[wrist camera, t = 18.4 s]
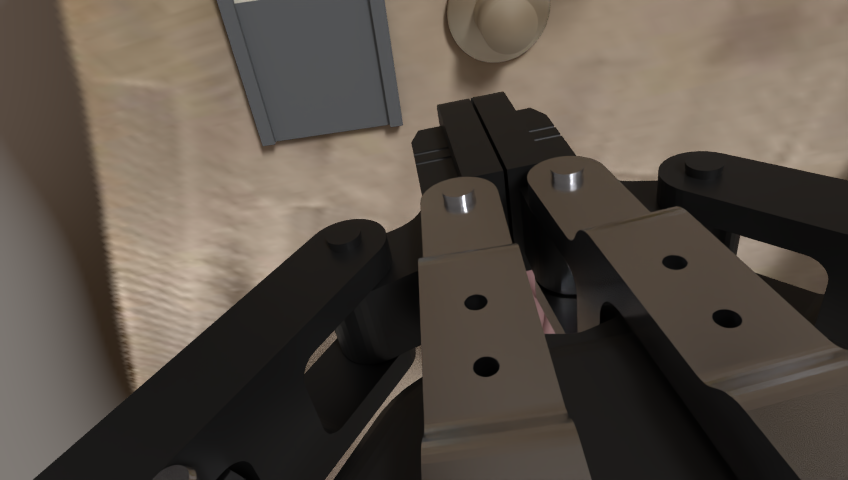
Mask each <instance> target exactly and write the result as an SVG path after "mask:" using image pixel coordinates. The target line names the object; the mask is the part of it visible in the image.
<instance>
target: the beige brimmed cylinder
mask: <svg viewBox="0 0 848 480" xmlns="http://www.w3.org/2000/svg"><path fill="white" fill-rule="evenodd" d="M549 12H550V0H448V2H447V21H448V25H449V29H450V31H451V33H452V36H453V38H454V40H455V41H456V43H457V44H458V46H459V47H460V48H461V49H462V50H463V51H464V52H465V53H466V54H468V55H469V56H471V57H473V58H475V59H477V60H480V61H484V62H491V63H497V62H504V61H508V60H511V59H514V58H516V57H518V56H520V55H521V54H523V53H524V52H526V51H527V50H528V49H529V48H531V47H532V46H533V45H534V44H535V42H536V41H537V40H538V39H539V37H540V36H541V34H542V32H543V30H544V28H545V26H546V24H547V20H548V17H549Z"/></svg>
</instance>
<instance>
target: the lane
mask: <svg viewBox="0 0 848 480" xmlns="http://www.w3.org/2000/svg"><path fill="white" fill-rule="evenodd" d="M217 3H218V6H219V9H220V12H221V16H222V19H223V22H224V25H225V28H226V31H227V35H228V38H229V41H230V44H231V47H232V50H233V54H234V57H235V60H236V63H237V66H238V69H239V73H240V76H241V79H242V82H243V85H244V88H245V92H246V95H247V98H248V101H249V104H250V107H251V111H252V114H253V117H254V120H255V123H256V126H257V129H258V133H259V136H260V139H261V142H262V145H263V146H267V145H274V144H275V143H276V141H283V140H289V139H296V138H303V137H309V136H316V135H323V134H330V133H336V132H343V131H350V130H357V129H363V128H370V127H377V126H384V125H390V127H395V126H402V125H403V122H402V115H401V109H400V102H399V95H398V89H397V82H396V75H395V68H394V62H393V55H392V48H391V41H390V35H389V28H388V21H387V15H386V8H385V1H384V0H217Z"/></svg>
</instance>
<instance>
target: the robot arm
mask: <svg viewBox="0 0 848 480" xmlns="http://www.w3.org/2000/svg"><path fill="white" fill-rule="evenodd" d="M437 111H438V118H439V124H440V126H439V127H434V128H429V129H424V130H419V131H418V132H417V134H416V136H415V137H414V139H413V141H412V142H411V143H412V148H413V153H414V158H415V163H416V168H417V173H418V178H419V183H420V188H421V193H422V198H421V202H420V205H421V211H420V212H419V214H418V215H417V216H416V217H415V218H414V219H413V220H411V221H410V222H409V223H407V224H405V225H404V226H402V227H399V228H397V229H395V230H393V231H390V232H388V233H386V231H385V229H384V228H383V226H381V225H380V224H379V223H377V222H375V221H371V220H366V219H352V220H346V221H342V222H338V223H335V224H332V225H330V226H328V227H326V228H324V229H323V230H321V231H319V232H318V233H317V234H315V235H314V236H313V237H312V238H311V239H310V240H308V241H307V242H306V243H305V244H304V245H303V246H302V247H300V248H299V249H298V250H297V251H296V252H295V253H294V254H292V255H291V256H290V257H289V258H288V259H287V260H285V261H284V262H283V263H282V264H281V265H280V266H279V267H277V268H276V269H275V270H274V271H273V272H272V273H270V274H269V275H268V276H267V277H266V278H265V279H264V280H262V281H261V282H260V283H259V284H258V285H257V286H256V287H254V288H253V289H252V290H251V291H250V292H249V293H247V294H246V295H245V296H244V297H243V298H242V299H241V300H239V301H238V302H237V303H236V304H235V305H234V306H232V307H231V308H230V309H229V310H228V311H227V312H226V313H224V314H223V315H222V316H221V317H220V318H219V319H218V320H216V321H215V322H214V323H213V324H212V325H211V326H209V327H208V328H207V329H206V330H205V331H204V332H203V333H201V334H200V335H199V336H198V337H197V338H196V339H194V340H193V341H192V342H191V343H190V344H189V345H188V346H186V347H185V348H184V349H183V350H182V351H181V352H180V353H178V354H177V355H176V356H175V357H174V358H173V359H171V360H170V361H169V362H168V363H167V364H166V365H165V366H163V367H162V368H161V369H160V370H159V371H158V372H156V373H155V374H154V375H153V376H152V377H151V378H150V379H148V380H147V381H146V382H145V383H144V384H143V385H142V386H140V387H139V388H138V389H137V390H136V391H135V392H133V393H132V394H131V395H130V396H129V397H128V398H127V399H125V400H124V401H123V402H122V403H121V404H120V405H119V406H117V407H116V408H115V409H114V410H113V411H112V412H110V413H109V414H108V415H107V416H106V417H105V418H104V419H103V420H101V421H100V422H99V423H98V424H97V425H95V426H94V427H93V428H92V429H91V430H90V431H89V432H87V433H86V434H85V435H84V436H83V437H82V438H81V439H79V440H78V441H77V442H76V443H75V444H74V445H72V446H71V447H70V448H69V449H68V450H67V451H66V452H64V453H63V454H62V455H61V456H60V457H59V458H57V460H55V461H54V462H53V463H52V464H51V465H49V466H48V467H47V468H46V469H45V470H44V471H42V472H41V473H40V474H39V475H38V476H37V477H36V478H34V479H33V480H325V479H326V477H327V476H328V475H329V473H330V472H331V471H332V469H333V468H334V467H335V466H336V464H337V463H338V462H339V460H340V459H341V458H342V456H343V455H344V454H345V452H346V451H347V450H348V448H349V447H350V446H351V444H352V443H353V442H354V441H355V439H356V438H357V437H358V435H359V434H360V433H361V431H362V430H363V429H364V427H365V426H366V425H367V423H368V422H369V421H370V419H371V418H372V417H373V416H374V414H375V413H376V412H377V410H378V409H379V408H380V406H381V405H382V404H383V402H384V401H385V400H386V398H387V397H388V396H389V394H390V393H391V392H392V390H393V389H394V388H395V387H396V385H397V384H398V383H399V381H400V380H401V379H402V377H403V376H404V375H405V373H406V372H407V371H408V369H409V368H410V367H411V365H412V364H413V361H414V359H415V354H416V351H415V347H418V346H420V345H421V351H422V376H423V377H422V378H420V379H418V380H417V381H415V382H414V383H413V384H411V385H410V386H408V387H407V388H405V389H404V390H403V391H402V392H401V393H400V394H398V395H397V396H396V397H395V398H394V399H393V400H392V401H391V402H390V403H389V404H388V405H387V406H386V407H385V408H384V410H383V411H382V412H381V413H380V414H379V416H378V417H377V418H376V420H375V421H374V423H373V424H372V426H371V427H370V428H369V430H368V431H367V433H366V434H365V435H364V437H363V438H362V440H361V441H360V443H359V444H358V445H357V447H356V448H355V450H354V451H353V453H352V454H351V455H350V457H349V458H348V460H347V461H346V463H345V464H344V465H343V467H342V468H341V470H340V471H339V473H338V474H337V475H336V477H335V478H334V480H848V181H847V180H843V179H838V178H834V177H829V176H824V175H820V174H815V173H810V172H806V171H801V170H797V169H792V168H787V167H783V166H778V165H773V164H769V163H764V162H760V161H755V160H750V159H746V158H741V157H736V156H732V155H727V154H722V153H717V152H708V151H696V152H687V153H682V154H678V155H675V156H672V157H670V158H668V159H666V160H665V161H664V162H663V163H662V164H661V165H660V167H659V171H658V181H619V180H618V179H617V178H616V177H615V176H614V175H613V174H612V173H611V172H610V171H609V170H608V169H607V168H606V167H605V166H604V165H603V164H601V163H600V162H598V161H596V160H594V159H591V158H587V157H581V156H576V155H575V153H574V152H573V151H572V149H571V148H570V146H569V145H568V144H567V142H566V141H565V140H564V138H563V137H562V136H560V133H559V132H558V130H557V129H556V127H554V125H553V123H552V122H551V121H550V119H549V118H548V117H547V115H545V114H543V113H541V112H539V111H537V110H534V109H532V108H527V109H522V110H517V111H516V110H515V109H514V107H513V105H512V104H511V102H510V101H509V99H508V97H507V96H506V94H505V93H504V92H498V93H493V94H488V95H483V96H478V97H473V98H471V101H470V99H464V100H459V101H454V102H449V103H444V104H439V105H437ZM740 235H741V236H744V237H747V238H751V239H754V240H757V241H761V242H764V243H767V244H771V245H774V246H777V247H781V248H784V249H787V250H791V251H794V252H797V253H801V254H804V255H807V256H810V257H812V258H813V259H815V260H817V261H818V262H819V263H820V264H821V265H822V266H823V267H824V268H825V270H826V272H827V274H828V285H827V288H826V291H825V294H817V293H814V292H811V291H808V290H805V289H802V288H799V287H796V286H793V285H790V284H787V283H784V282H781V281H778V280H775V279H772V278H769V277H766V276H763V275H760V274H757V273H755V272H754V271H752V270H751V269H750V268H749V267H748V266H747V265H746V264H745V263H744V262H743V261H741V260H740V259H739V258H738V257H737V256H736V255H737V249H738V244H739V238H740ZM529 270H532V271H533V273H534V276H535V290H536V298H537V300H538V302H539V304H540V306H541V308H542V310H543V312H544V314H545V315H546V317H547V319H548V321H549V323H550V325H551V326H552V328H553V330H554V332H555V334H544V331H543V328H542V325H541V321H540V318H539V314H538V311H537V307H536V304H535V300H534V297H533V293H532V290H531V286H530V283H529V279H528V276H527V272H526V271H529ZM334 330H335V333H336V335H337V339H336V340H335V341H334V342H333V343H332V345H331V346H330V347H329V348H328V349H327V350H326V351H325V352H324V353H323V354H322V355H321V357H320V358H319V359H318V360H317V361H316V362H315V363H314V364H313V365H312V366H311V367H310V369H309V370H308V371H307V372H306V373H305V374H304V372H305V368H306V365H307V362H308V360H309V358H310V357H311V355H312V354H313V353H314V352H315V350H316V349H317V348H318V347H319V346H320V345H321V344H322V343H323V342H324V341H325V340H326V339H327V338H328V337H329V335H330V334H331V333H332V332H333V331H334Z"/></svg>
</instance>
